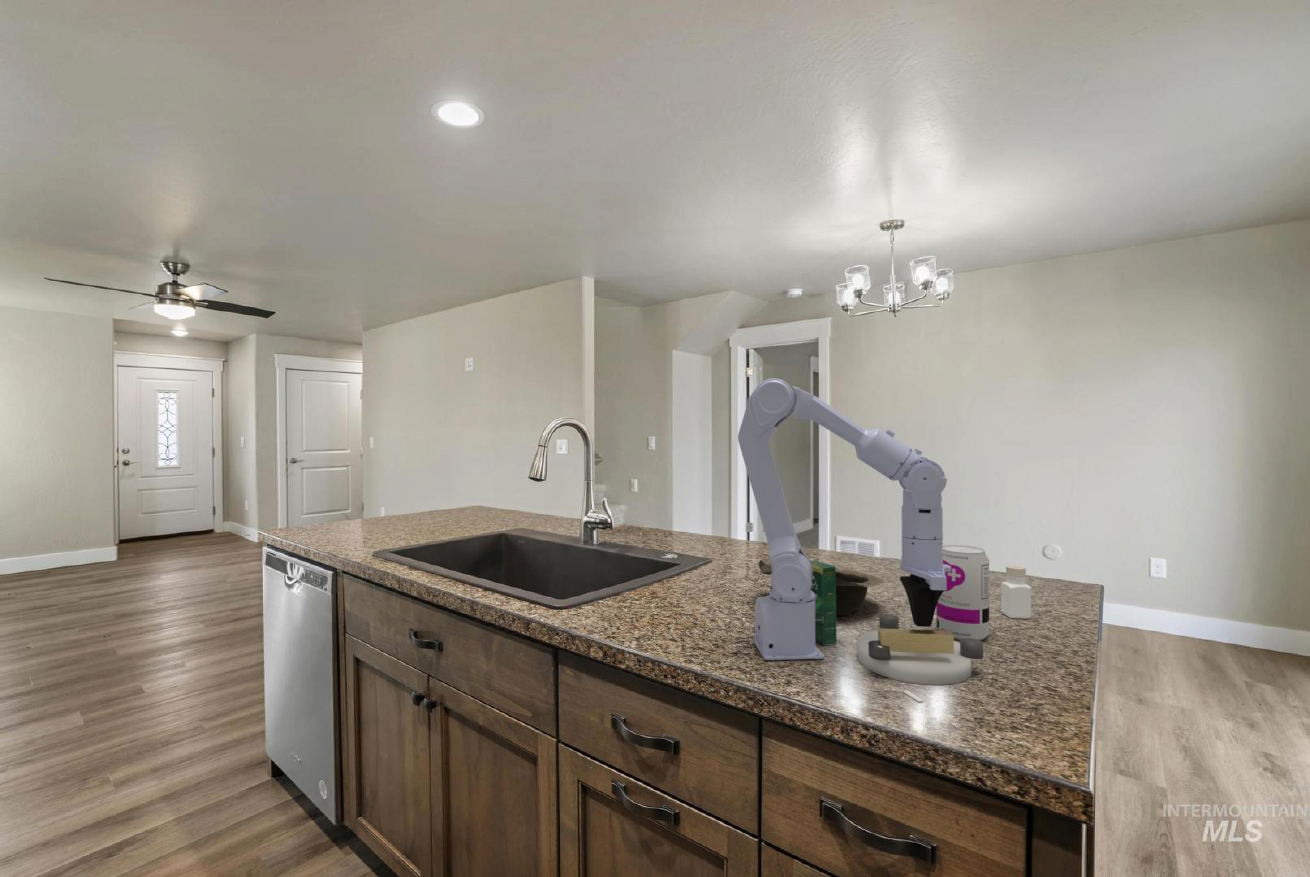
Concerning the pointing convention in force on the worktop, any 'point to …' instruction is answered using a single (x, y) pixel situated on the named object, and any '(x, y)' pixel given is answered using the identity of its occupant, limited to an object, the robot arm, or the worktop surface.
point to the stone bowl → (844, 588)
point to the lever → (910, 642)
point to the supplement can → (965, 593)
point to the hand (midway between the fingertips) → (922, 625)
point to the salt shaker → (1016, 593)
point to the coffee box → (824, 602)
